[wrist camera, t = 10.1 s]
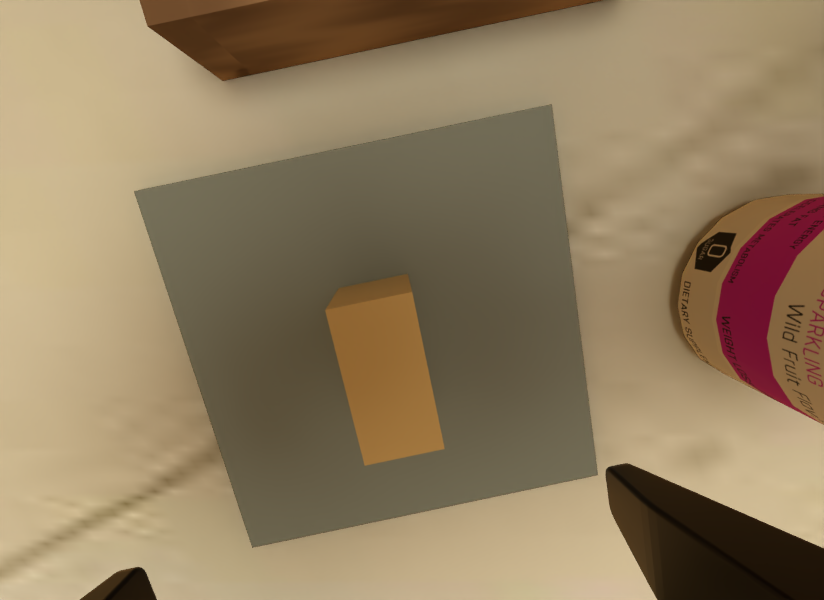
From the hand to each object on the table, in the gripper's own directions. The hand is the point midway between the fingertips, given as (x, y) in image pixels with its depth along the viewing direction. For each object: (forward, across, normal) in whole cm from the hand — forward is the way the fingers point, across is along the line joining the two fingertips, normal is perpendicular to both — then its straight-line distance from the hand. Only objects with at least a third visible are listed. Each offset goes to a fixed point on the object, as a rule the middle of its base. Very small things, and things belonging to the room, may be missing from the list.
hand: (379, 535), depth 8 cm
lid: (+13, 0, 0) cm, 13 cm away
